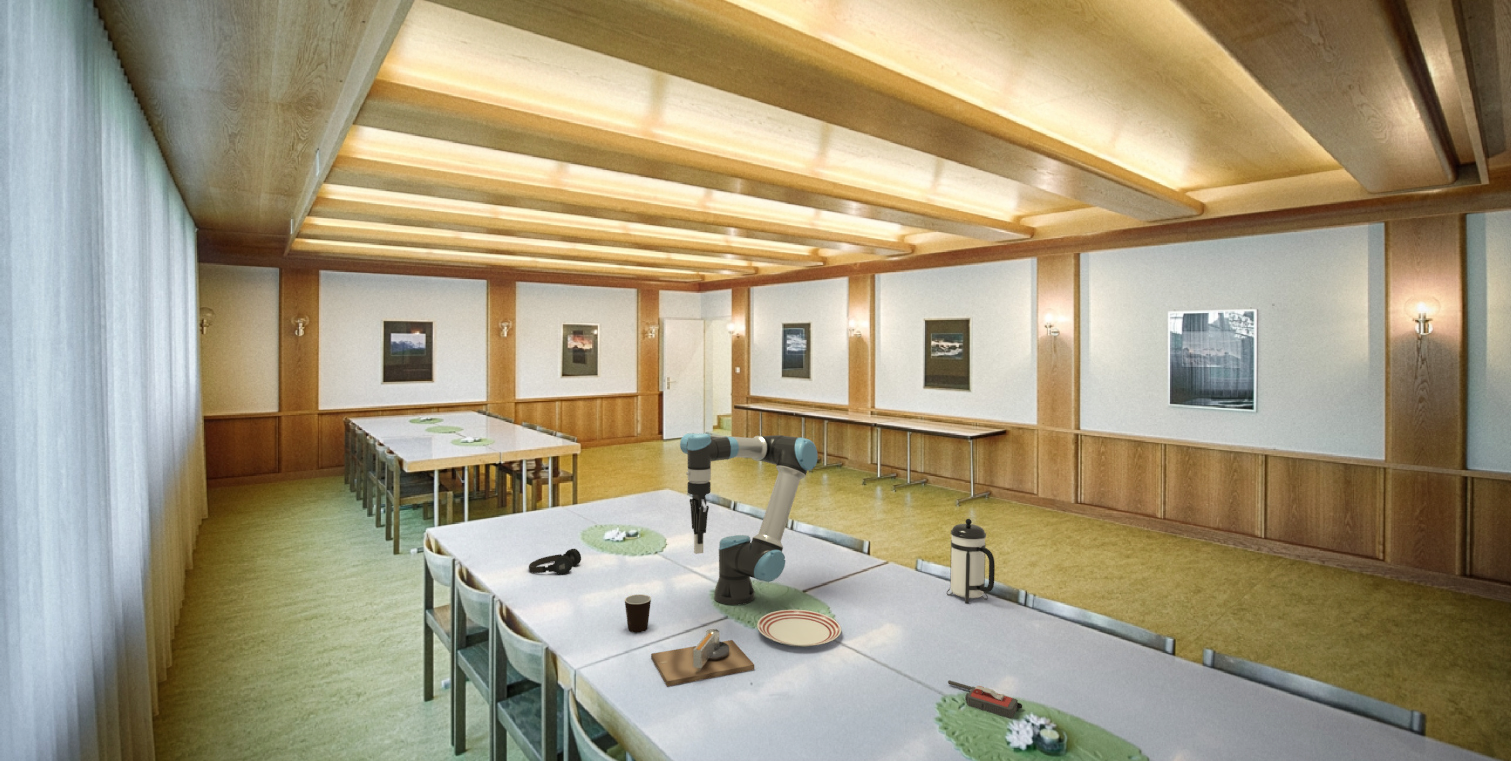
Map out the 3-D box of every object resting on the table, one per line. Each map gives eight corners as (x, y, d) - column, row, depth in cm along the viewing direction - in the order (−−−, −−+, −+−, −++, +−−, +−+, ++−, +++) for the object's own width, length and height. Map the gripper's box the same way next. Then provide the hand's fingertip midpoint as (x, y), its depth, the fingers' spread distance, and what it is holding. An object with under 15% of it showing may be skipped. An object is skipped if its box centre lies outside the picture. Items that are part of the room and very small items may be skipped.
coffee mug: (645, 635, 214) (645, 605, 214) (620, 632, 216) (620, 602, 215) (657, 621, 225) (657, 592, 225) (634, 619, 227) (634, 590, 227)
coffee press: (944, 601, 246) (945, 522, 244) (948, 587, 260) (950, 512, 259) (993, 608, 239) (995, 527, 238) (995, 594, 254) (997, 517, 253)
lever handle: (702, 643, 204) (702, 622, 204) (733, 647, 201) (733, 626, 201) (680, 670, 187) (680, 647, 186) (714, 675, 184) (714, 651, 184)
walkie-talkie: (1024, 707, 173) (949, 684, 184) (1025, 690, 173) (949, 669, 184) (1016, 722, 166) (938, 698, 177) (1016, 705, 165) (938, 682, 177)
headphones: (566, 557, 270) (520, 563, 272) (569, 575, 270) (523, 580, 272) (582, 545, 286) (539, 551, 289) (585, 562, 287) (541, 567, 289)
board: (732, 644, 208) (732, 639, 208) (754, 669, 191) (754, 664, 191) (651, 658, 198) (651, 653, 198) (667, 686, 181) (667, 680, 181)
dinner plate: (848, 624, 224) (848, 614, 224) (831, 659, 198) (831, 648, 198) (771, 613, 233) (771, 604, 233) (745, 646, 207) (745, 635, 207)
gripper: (682, 478, 220) (681, 548, 221) (694, 485, 208) (693, 559, 209) (703, 477, 223) (703, 546, 223) (716, 484, 211) (716, 557, 211)
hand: (698, 552), depth 216 cm, fingers closed
